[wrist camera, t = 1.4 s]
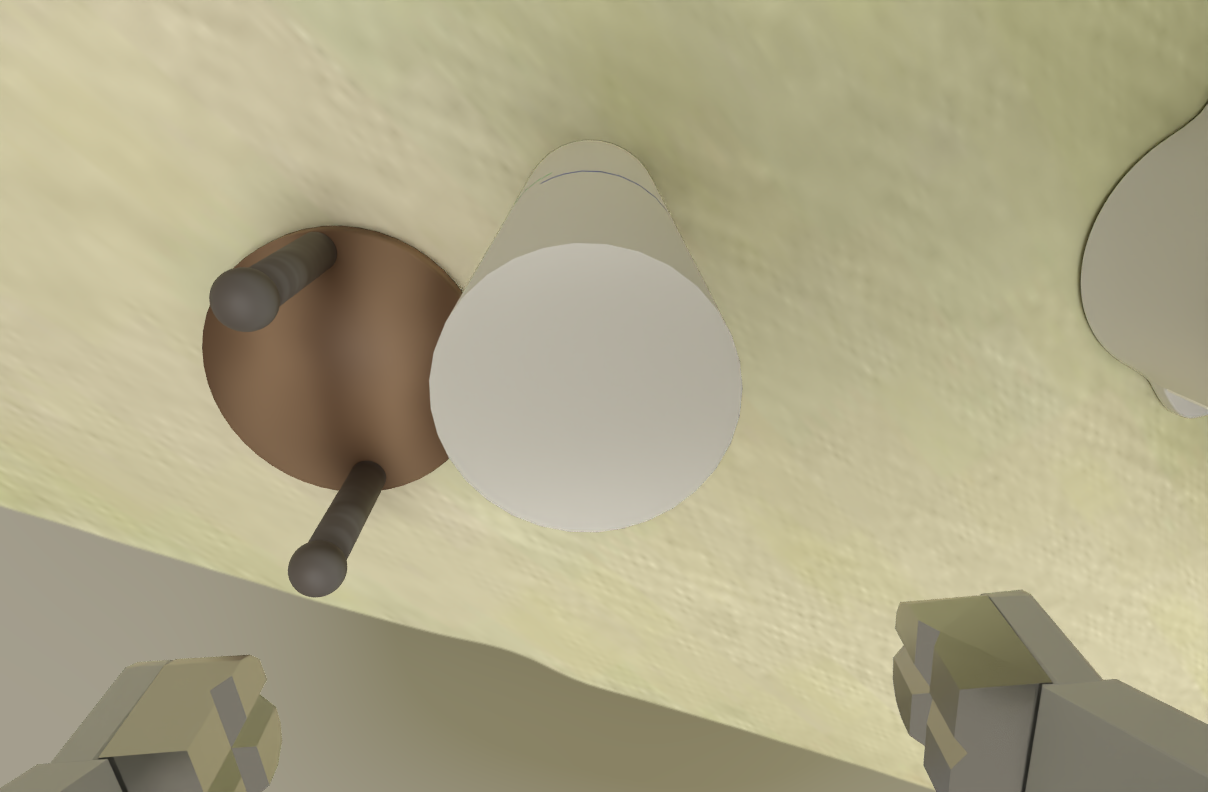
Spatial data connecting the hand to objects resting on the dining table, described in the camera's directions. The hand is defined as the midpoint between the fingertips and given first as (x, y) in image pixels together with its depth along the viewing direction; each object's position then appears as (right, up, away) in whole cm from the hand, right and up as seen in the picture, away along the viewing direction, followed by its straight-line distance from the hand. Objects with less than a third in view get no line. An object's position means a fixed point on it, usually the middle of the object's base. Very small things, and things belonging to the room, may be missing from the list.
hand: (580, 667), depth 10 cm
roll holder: (-14, +5, +34) cm, 37 cm away
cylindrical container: (0, +13, +31) cm, 34 cm away
